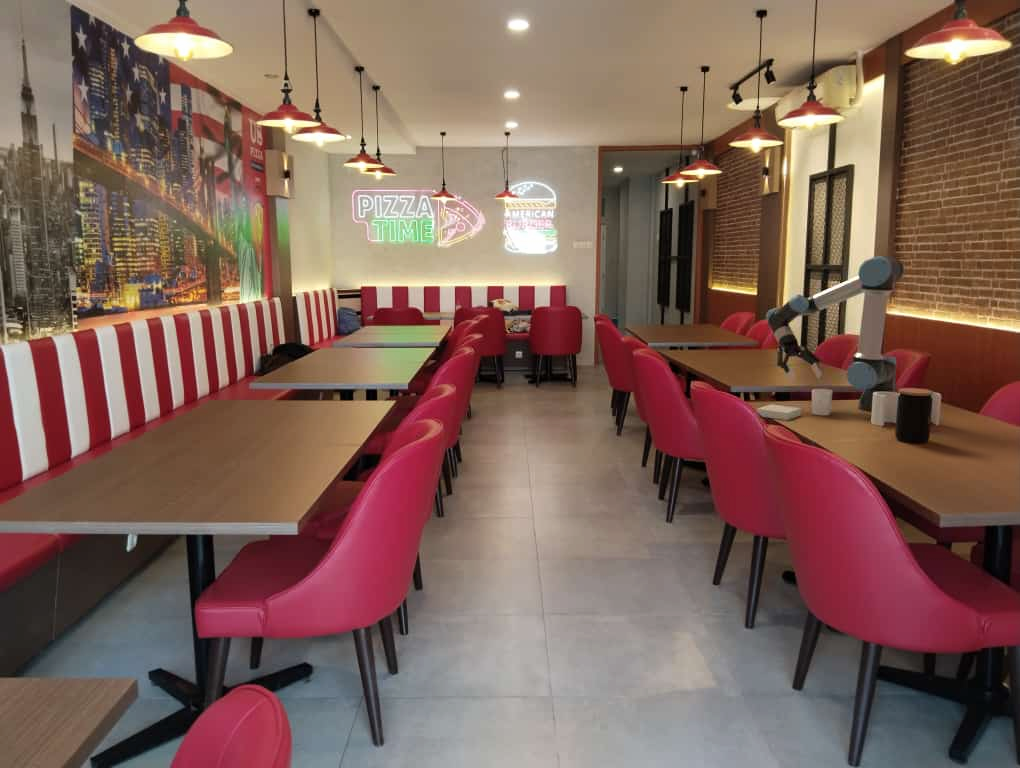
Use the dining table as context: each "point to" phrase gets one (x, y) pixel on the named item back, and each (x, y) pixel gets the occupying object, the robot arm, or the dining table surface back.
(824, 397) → the white cup
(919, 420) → the coffee jar
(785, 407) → the plinth
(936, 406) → the bracket
